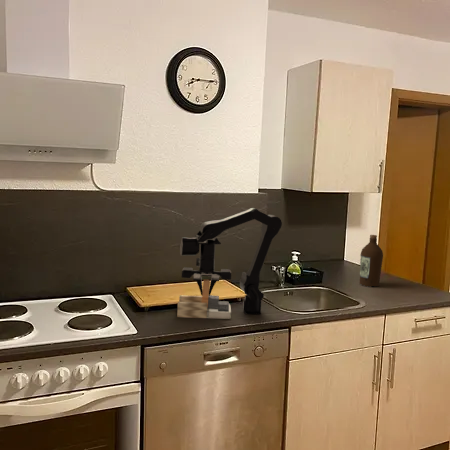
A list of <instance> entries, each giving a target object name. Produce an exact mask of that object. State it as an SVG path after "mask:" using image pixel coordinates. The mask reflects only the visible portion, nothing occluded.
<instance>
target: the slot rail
mask: <svg viewBox="0 0 450 450" xmlns="http://www.w3.org/2000/svg"><path fill="white" fill-rule="evenodd" d="M176 317H177V318H192V319H194V318H195V319H208V318H207V303H202V295H187V294H186V295H184V294H183V295H182V294H181V295H179V298H178V301H177V316H176Z"/></svg>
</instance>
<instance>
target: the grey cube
mask: <svg viewBox="0 0 450 450" xmlns="http://www.w3.org/2000/svg"><path fill="white" fill-rule="evenodd" d="M219 301H220V296H219V295H213V294H212V295H211V294H210V296H209V297H208V308H211V309H218V303H219Z"/></svg>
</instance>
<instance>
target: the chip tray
mask: <svg viewBox="0 0 450 450" xmlns="http://www.w3.org/2000/svg"><path fill="white" fill-rule="evenodd" d="M206 319H220V320H221V319H223V320H224V319H225V320H231V319H232V309H231V303H229V312H221V311H218V309H211V308H207V318H206Z"/></svg>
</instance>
